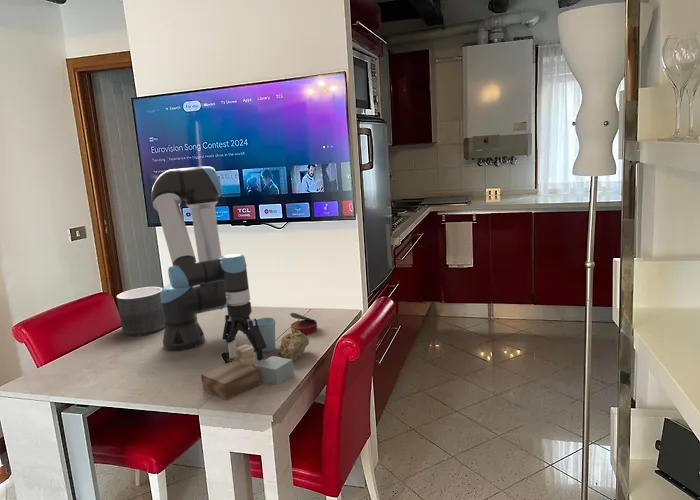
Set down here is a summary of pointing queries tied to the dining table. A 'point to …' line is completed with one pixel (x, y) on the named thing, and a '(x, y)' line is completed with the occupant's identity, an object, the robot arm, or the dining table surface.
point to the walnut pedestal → (230, 379)
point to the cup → (267, 332)
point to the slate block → (275, 369)
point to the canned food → (303, 325)
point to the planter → (141, 311)
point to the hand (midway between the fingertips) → (246, 364)
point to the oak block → (244, 354)
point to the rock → (293, 346)
